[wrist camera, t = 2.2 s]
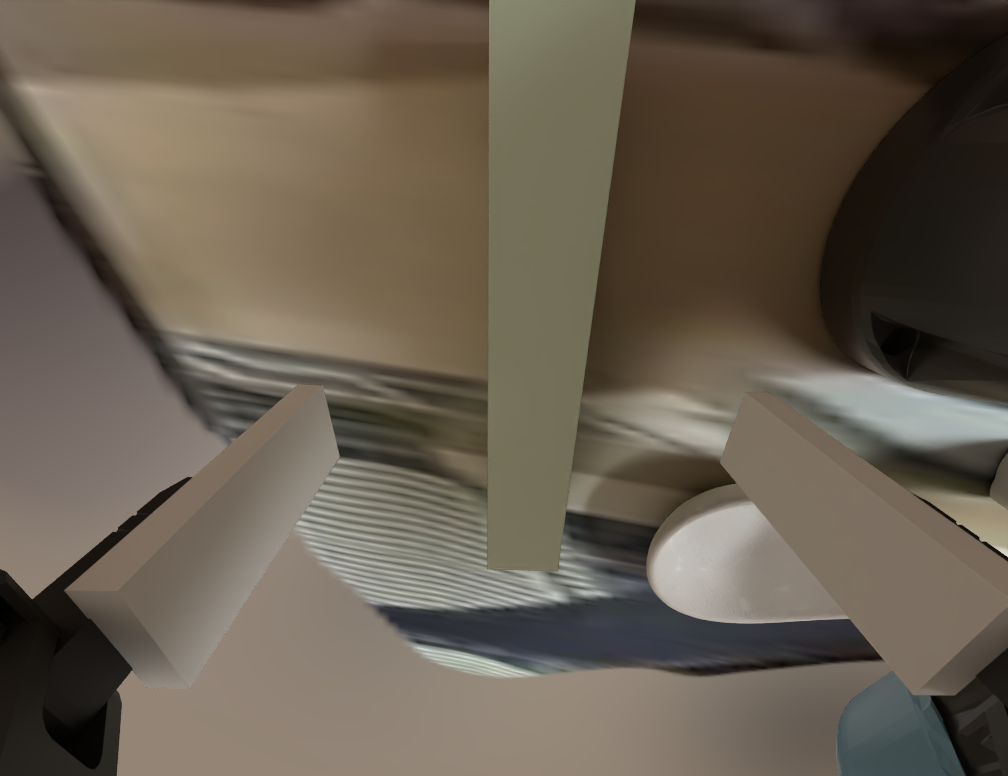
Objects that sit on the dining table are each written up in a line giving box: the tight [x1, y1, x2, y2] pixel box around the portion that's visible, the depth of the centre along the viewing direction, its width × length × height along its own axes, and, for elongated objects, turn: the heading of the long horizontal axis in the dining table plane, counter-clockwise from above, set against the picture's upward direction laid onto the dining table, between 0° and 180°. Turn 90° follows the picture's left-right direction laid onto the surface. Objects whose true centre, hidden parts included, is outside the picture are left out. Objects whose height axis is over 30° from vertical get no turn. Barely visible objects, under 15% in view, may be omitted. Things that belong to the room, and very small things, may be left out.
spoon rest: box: [646, 453, 1008, 623], centre depth 21 cm, size 24×12×7 cm, turn 107°
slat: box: [487, 0, 636, 571], centre depth 17 cm, size 4×24×5 cm, turn 179°
